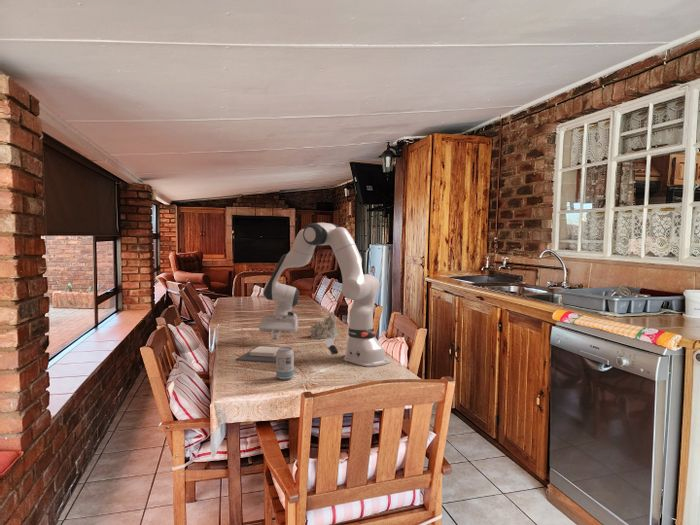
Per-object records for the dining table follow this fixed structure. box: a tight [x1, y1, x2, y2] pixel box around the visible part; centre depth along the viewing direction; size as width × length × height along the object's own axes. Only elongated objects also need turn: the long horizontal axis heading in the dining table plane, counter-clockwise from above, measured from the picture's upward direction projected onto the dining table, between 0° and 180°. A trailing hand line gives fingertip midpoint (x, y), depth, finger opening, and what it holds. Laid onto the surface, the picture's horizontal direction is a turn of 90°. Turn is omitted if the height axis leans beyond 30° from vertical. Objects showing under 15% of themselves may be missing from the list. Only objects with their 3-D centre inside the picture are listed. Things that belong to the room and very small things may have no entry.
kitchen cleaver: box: [325, 338, 339, 355], centre depth 229 cm, size 31×2×10 cm
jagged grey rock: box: [309, 311, 339, 340], centre depth 252 cm, size 16×16×15 cm
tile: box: [249, 345, 281, 357], centre depth 212 cm, size 2×12×11 cm
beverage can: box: [275, 346, 295, 381], centre depth 177 cm, size 7×7×12 cm
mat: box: [235, 349, 276, 364], centre depth 208 cm, size 16×20×1 cm
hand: (274, 338), depth 223 cm, fingers closed
